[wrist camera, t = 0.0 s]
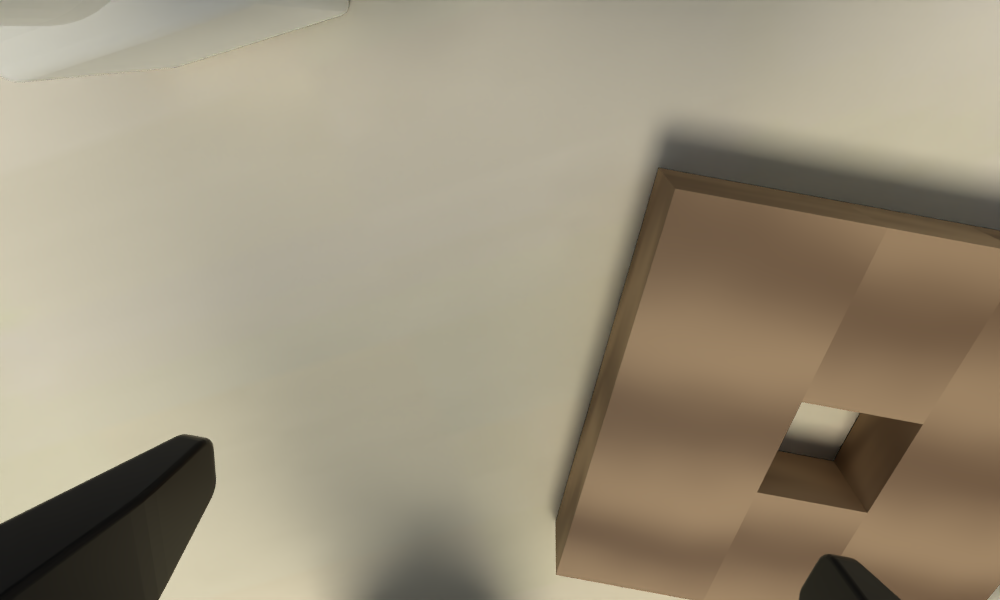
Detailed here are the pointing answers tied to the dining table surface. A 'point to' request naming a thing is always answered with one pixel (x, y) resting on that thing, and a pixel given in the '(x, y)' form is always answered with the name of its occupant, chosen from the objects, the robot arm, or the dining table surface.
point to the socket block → (792, 401)
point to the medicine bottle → (139, 32)
